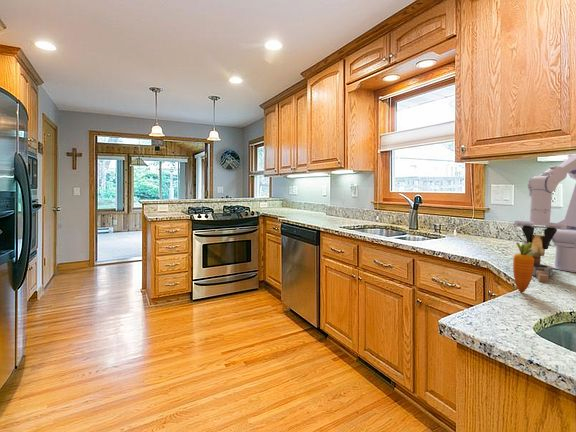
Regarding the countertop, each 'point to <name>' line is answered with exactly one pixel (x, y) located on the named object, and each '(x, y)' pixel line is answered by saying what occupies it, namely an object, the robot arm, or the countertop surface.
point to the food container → (536, 258)
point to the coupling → (542, 272)
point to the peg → (537, 245)
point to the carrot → (523, 267)
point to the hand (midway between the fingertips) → (537, 248)
